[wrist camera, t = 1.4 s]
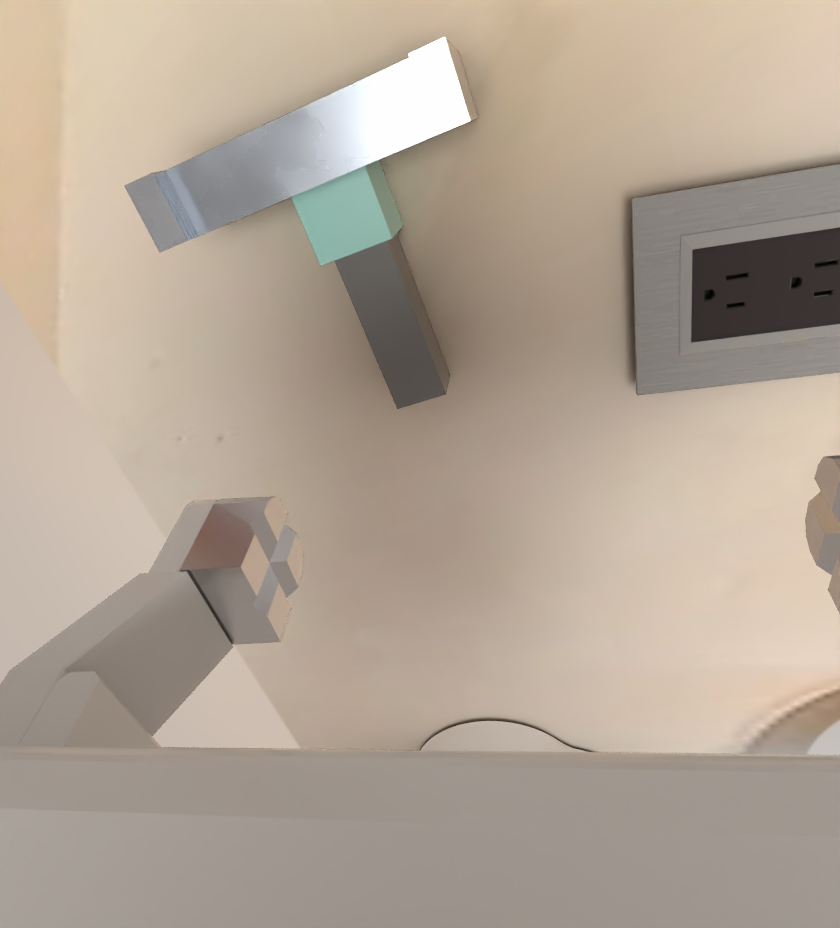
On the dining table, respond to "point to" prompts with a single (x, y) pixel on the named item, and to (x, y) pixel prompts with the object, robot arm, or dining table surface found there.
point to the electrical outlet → (737, 281)
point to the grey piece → (308, 146)
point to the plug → (376, 278)
